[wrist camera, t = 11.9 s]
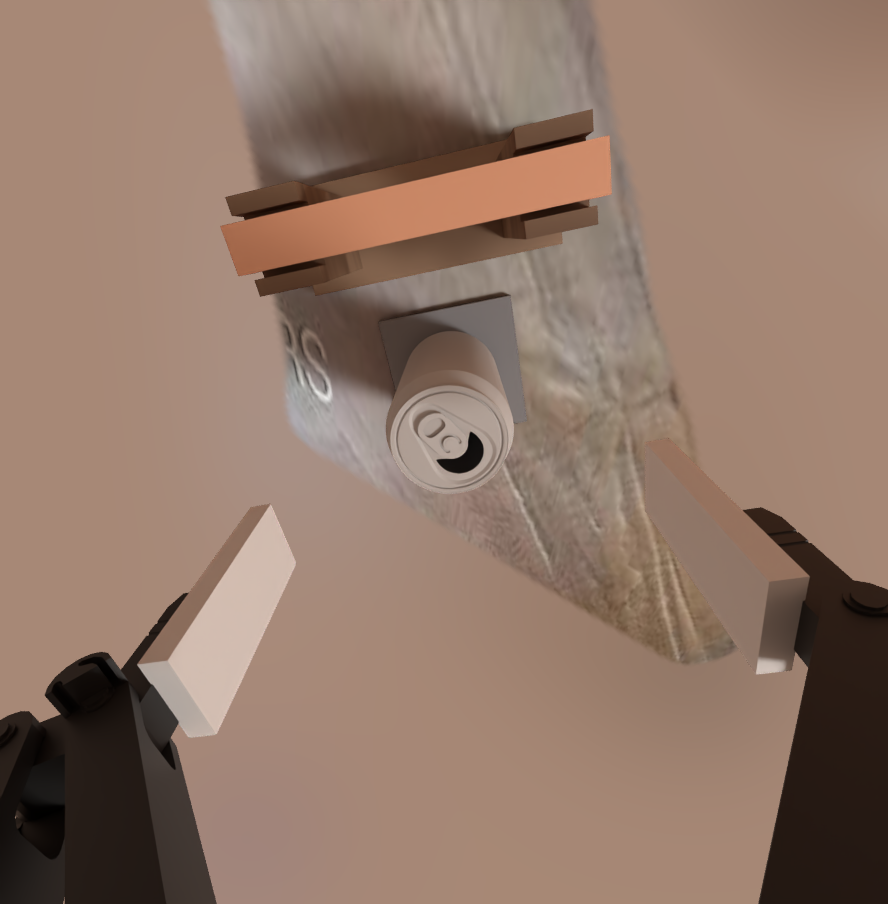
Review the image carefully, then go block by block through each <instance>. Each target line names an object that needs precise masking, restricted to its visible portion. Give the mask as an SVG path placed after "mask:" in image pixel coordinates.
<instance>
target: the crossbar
mask: <svg viewBox="0 0 888 904" xmlns="http://www.w3.org/2000/svg"><path fill="white" fill-rule="evenodd" d="M610 194H612V191H611V164H610V138H609V136H605V137H600V138H596V139H592V140H587V141H583V142H579V143H575V144H570V145H566V146H562V147H557V148H553V149H549V150H545V151H540V152H536V153H532V154H527V155H523V156H519V157H515V158H510V159H506V160H502V161H497V162H493V163H489V164H485V165H480V166H476V167H472V168H467V169H463V170H459V171H455V172H450V173H446V174H442V175H437V176H433V177H429V178H424V179H420V180H416V181H412V182H407V183H403V184H399V185H394V186H390V187H386V188H382V189H377V190H373V191H369V192H364V193H360V194H356V195H352V196H347V197H343V198H339V199H334V200H330V201H326V202H322V203H317V204H313V205H309V206H304V207H300V208H296V209H292V210H287V211H283V212H279V213H274V214H270V215H266V216H262V217H257V218H253V219H249V220H245V221H241V222H236V223H232V224H227V225H223V226H221V229H222V232H223V235H224V238H225V240H226V243H227V246H228V248H229V251H230V254H231V256H232V260H233V262H234V265H235V268H236V270H237V273H238V276H242V275H247V274H253V273H257V272H261V271H266V270H271V269H275V268H280V267H284V266H289V265H294V264H298V263H303V262H307V261H312V260H316V259H321V258H325V257H330V256H334V255H339V254H343V253H348V252H352V251H357V250H362V249H366V248H371V247H375V246H380V245H384V244H389V243H393V242H398V241H402V240H407V239H411V238H416V237H421V236H425V235H430V234H434V233H439V232H443V231H448V230H452V229H457V228H461V227H466V226H470V225H475V224H480V223H484V222H489V221H493V220H498V219H502V218H507V217H511V216H516V215H520V214H525V213H529V212H534V211H539V210H543V209H548V208H552V207H557V206H561V205H566V204H570V203H575V202H579V201H584V200H588V199H593V198H598V197H602V196H606V195H610Z"/></svg>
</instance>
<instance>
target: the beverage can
mask: <svg viewBox="0 0 888 904" xmlns="http://www.w3.org/2000/svg"><path fill="white" fill-rule="evenodd" d="M513 434H514V424H513V417H512V413H511V410H510V407H509V404H508V401H507V398H506V394H505V391H504V388H503V385H502V382H501V379H500V376H499V373H498V369H497V366H496V363H495V360H494V358H493V356H492V354H491V352H490V351H489V350H488V348H487V347H486V346H485V345H484V344H483V343H482V342H481V341H479V340H478V339H477V338H475V337H473V336H471V335H469V334H466V333H463V332H458V331H445V332H440V333H436V334H433V335H431V336H429V337H427V338H426V339H424V340H423V341H422V342H420V343H419V344H418V345H417V346H416V348H415V349H414V350H413V352H412V353H411V355H410V357H409V359H408V362H407V364H406V367H405V370H404V372H403V375H402V377H401V380H400V383H399V385H398V388H397V391H396V393H395V396H394V398H393V401H392V404H391V406H390V409H389V412H388V416H387V421H386V437H387V442H388V445H389V448H390V451H391V453H392V455H393V457H394V460H395V462H396V464H397V466H398V467H399V469H400V470H401V471H402V473H403V474H404V475H405V476H406V477H407V478H408V479H409V480H411V481H412V482H413V483H415V484H416V485H418V486H420V487H422V488H424V489H426V490H429V491H432V492H436V493H442V494H457V493H462V492H467V491H471V490H473V489H476V488H478V487H480V486H482V485H483V484H485V483H486V482H488V481H489V480H490V479H491V478H492V477H493V476H494V475H495V474H496V473H497V472H498V470H499V469H500V468H501V466H502V464H503V462H504V460H505V458H506V457H507V455H508V453H509V450H510V448H511V445H512V441H513Z"/></svg>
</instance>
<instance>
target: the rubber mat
mask: <svg viewBox="0 0 888 904" xmlns="http://www.w3.org/2000/svg"><path fill="white" fill-rule="evenodd" d="M378 324H379V328H380V332H381V336H382V340H383V343H384V347H385V351H386V355H387V359H388V363H389V367H390V371H391V375H392V379H393V383H394V387H395V391H397V388H398V385H399V383H400V380H401V377H402V375H403V372H404V370H405V367H406V364H407V362H408V359H409V357H410V355H411V353H412V352H413V350H414V349H415V348H416V346H417V345H418V344H419V343H420V342H422V341H423V340H424V339H426V338H427V337H429V336H431V335H433V334H436V333H440V332H445V331H458V332H463V333H466V334H469V335H471V336H473V337H475V338H477V339H478V340H479V341H481V342H482V343H483V344H484V345H485V346H486V347H487V348H488V350H489V351H490V352H491V354H492V356H493V358H494V360H495V363H496V366H497V369H498V373H499V376H500V379H501V382H502V385H503V388H504V391H505V394H506V398H507V401H508V404H509V407H510V410H511V413H512V417H513V423H519V422H525V421H527V418H526V410H525V403H524V395H523V387H522V380H521V372H520V364H519V357H518V349H517V341H516V334H515V326H514V318H513V310H512V303H511V296H510V295H506V296H501V297H496V298H491V299H486V300H482V301H477V302H472V303H467V304H462V305H457V306H452V307H447V308H442V309H437V310H432V311H427V312H422V313H418V314H413V315H408V316H403V317H398V318H393V319H388V320H383V321H379V322H378Z"/></svg>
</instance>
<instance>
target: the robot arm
mask: <svg viewBox="0 0 888 904" xmlns="http://www.w3.org/2000/svg"><path fill="white" fill-rule="evenodd" d="M645 511H646V513H647V514H648V516H649V517H650V519H651V520H652V521H653V523H654V524H655V526H656V527H657V529H658V530H659V532H660V533H661V535H662V536H663V538H664V539H665V541H666V542H667V544H668V545H669V547H670V548H671V550H672V551H673V553H674V554H675V556H676V557H677V558H678V560H679V561H680V563H681V564H682V566H683V567H684V569H685V570H686V572H687V573H688V575H689V576H690V578H691V579H692V581H693V582H694V584H695V585H696V587H697V588H698V590H699V591H700V592H701V594H702V595H703V597H704V598H705V600H706V601H707V603H708V604H709V606H710V607H711V609H712V610H713V612H714V613H715V615H716V616H717V618H718V619H719V621H720V622H721V624H722V625H723V627H724V628H725V629H726V631H727V632H728V634H729V635H730V637H731V638H732V640H733V641H734V643H735V644H736V646H737V647H738V649H739V650H740V652H741V653H742V655H743V656H744V658H745V659H746V661H747V662H748V663H749V665H750V666H751V668H752V669H753V671H754V672H755V674H764V673H773V672H781V671H790V670H792V666H793V661H794V656H795V652H796V653H797V654H798V655H799V657H800V658H801V659H802V660H803V662H804V663H805V664H806V665H807V667H808V672H807V676H806V681H805V686H804V690H803V695H802V700H801V705H800V710H799V714H798V719H797V724H796V728H795V733H794V738H793V742H792V747H791V752H790V757H789V761H788V766H787V771H786V775H785V780H784V785H783V790H782V794H781V799H780V804H779V809H778V813H777V818H776V823H775V827H774V832H773V837H772V842H771V846H770V851H769V856H768V860H767V865H766V870H765V875H764V879H763V884H762V889H761V894H760V898H759V904H888V590H887V589H885V588H882V587H879V586H876V585H873V584H870V583H866V582H860V581H854V580H852V579H851V578H850V577H849V576H848V575H847V574H845V573H844V572H843V571H842V570H841V569H840V568H839V567H838V566H836V565H835V564H834V563H833V562H832V561H831V560H830V559H829V558H827V557H826V556H825V555H824V554H823V553H822V552H821V551H820V550H818V549H817V548H816V547H815V546H814V545H812V543H808V540H807V539H806V538H805V537H804V536H802V535H801V534H800V533H799V532H798V533H797V532H796V529H795V528H793V527H792V526H791V525H790V524H789V523H788V522H787V521H786V520H784V519H783V518H782V517H780V516H778V515H776V514H774V513H772V512H770V511H768V510H766V509H764V508H754V509H747V510H742V509H741V508H740V507H739V506H737V505H736V504H735V503H734V502H733V501H732V500H731V499H730V498H729V497H728V496H727V495H726V494H725V493H724V492H723V491H722V490H721V489H720V488H719V487H718V486H717V485H716V484H715V483H714V482H713V481H712V480H711V479H710V478H709V477H708V476H707V475H706V474H705V473H704V472H703V471H702V470H701V469H700V468H699V467H698V466H697V465H696V464H695V463H694V462H693V461H692V460H691V459H690V458H689V457H688V456H687V455H685V454H684V453H683V452H682V451H681V450H680V449H679V448H678V447H677V446H676V445H675V444H674V443H673V442H672V441H671V440H670V439H669V438H667V439H661V440H655V441H649V442H645ZM295 565H296V562H295V559H294V557H293V555H292V552H291V550H290V548H289V546H288V543H287V541H286V539H285V536H284V534H283V531H282V529H281V527H280V524H279V522H278V520H277V518H276V515H275V513H274V510H273V508H272V506H271V504H267V505H261V506H255V507H251V508H250V509H249V511H248V512H247V513H246V515H245V516H244V517H243V519H242V520H241V522H240V523H239V524H238V526H237V527H236V529H235V530H234V531H233V533H232V534H231V535H230V537H229V538H228V539H227V541H226V542H225V544H224V545H223V546H222V548H221V549H220V551H219V552H218V554H217V555H216V556H215V557H214V559H213V560H212V562H211V563H210V564H209V566H208V567H207V569H206V570H205V571H204V573H203V574H202V576H201V577H200V578H199V580H198V581H197V582H196V584H195V585H194V586H193V588H192V589H191V591H190V592H189V593H185V594H183V595H181V596H180V597H179V598H178V599H177V600H176V601H175V602H173V603H172V604H171V605H170V606H169V607H168V608H167V609H166V611H165V612H164V613H163V615H162V616H161V617H160V619H159V620H158V623H157V624H155V625H154V627H153V628H152V629H151V631H150V632H149V636H146V637H145V639H144V640H143V641H142V643H141V644H140V645H139V647H138V648H137V649H136V651H135V652H134V653H133V655H132V656H131V657H130V659H129V660H128V661H127V663H126V664H125V665H124V667H123V668H122V669H121V670H120V669H119V667H118V666H117V665H116V663H115V662H114V660H113V659H112V658H111V656H110V655H109V654H108V653H105V652H99V653H94V654H90V655H88V656H85V657H83V658H81V659H79V660H77V661H76V662H74V663H73V664H71V665H70V666H68V667H66V668H65V669H64V670H63V671H62V672H61V673H60V674H58V675H57V676H56V677H55V678H54V680H53V681H52V682H51V684H50V685H49V686H48V688H47V690H46V693H45V696H46V698H47V699H48V700H49V701H50V702H51V703H52V704H53V705H54V707H55V708H56V709H57V710H58V711H59V712H60V713H61V715H58V716H56V717H53V718H50V719H48V720H46V721H43V722H40V723H39V722H38V721H37V719H36V718H35V717H34V716H33V715H32V714H31V713H30V712H29V711H26V712H25V711H20V712H18V713H14V714H11V715H9V716H7V717H5V718H3V719H2V720H0V904H63V901H64V897H65V904H216V900H215V896H214V892H213V888H212V884H211V880H210V876H209V872H208V868H207V864H206V860H205V856H204V853H203V849H202V845H201V841H200V837H199V833H198V829H197V825H196V821H195V817H194V813H193V809H192V805H191V802H190V798H189V794H188V790H187V786H186V783H185V778H184V774H183V771H182V766H181V763H180V758H179V755H178V751H177V747H176V745H175V744H174V742H173V741H172V739H171V736H172V734H173V732H174V730H175V728H176V727H177V725H178V723H179V725H180V726H181V727H182V729H183V730H184V732H185V733H186V735H187V736H188V737H189V738H191V737H200V736H209V735H216V734H217V732H218V730H219V728H220V726H221V724H222V721H223V720H224V717H225V715H226V713H227V711H228V709H229V707H230V705H231V702H232V700H233V698H234V696H235V693H236V691H237V690H238V687H239V685H240V683H241V681H242V679H243V677H244V675H245V672H246V670H247V668H248V666H249V664H250V662H251V659H252V657H253V655H254V653H255V651H256V649H257V647H258V644H259V642H260V640H261V638H262V636H263V634H264V632H265V630H266V627H267V625H268V623H269V621H270V619H271V616H272V614H273V612H274V610H275V608H276V606H277V604H278V601H279V600H280V597H281V595H282V593H283V591H284V589H285V587H286V585H287V582H288V580H289V578H290V576H291V574H292V572H293V570H294V567H295ZM15 816H16V819H15Z"/></svg>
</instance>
